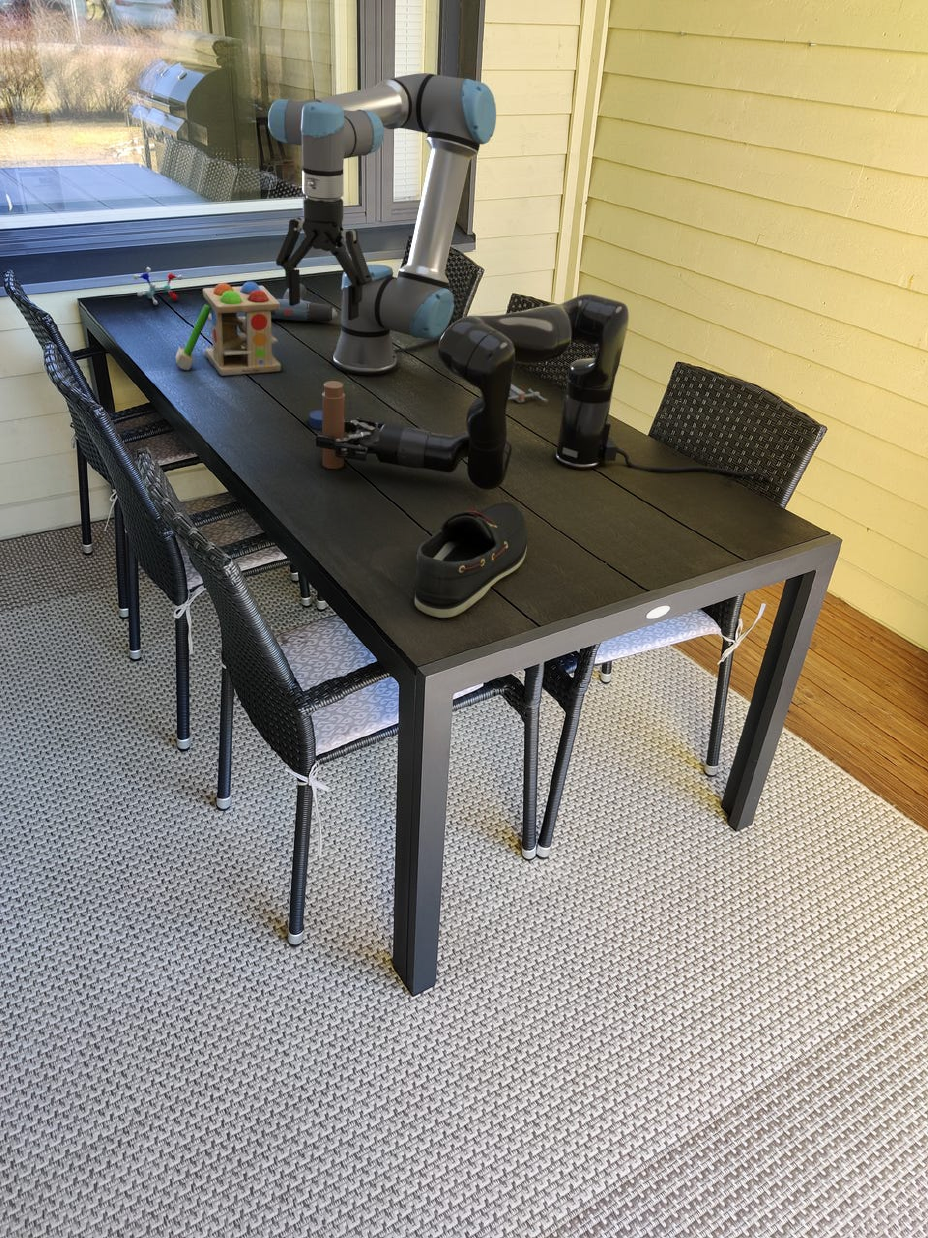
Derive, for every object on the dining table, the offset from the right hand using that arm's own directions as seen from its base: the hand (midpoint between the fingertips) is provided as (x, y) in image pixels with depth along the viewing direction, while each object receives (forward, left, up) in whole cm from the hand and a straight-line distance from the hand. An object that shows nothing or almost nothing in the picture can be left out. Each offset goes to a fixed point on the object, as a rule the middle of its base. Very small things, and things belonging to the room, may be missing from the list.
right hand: (324, 432), depth 188 cm
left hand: (-2, -19, +17) cm, 26 cm away
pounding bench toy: (+18, -53, -6) cm, 56 cm away
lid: (-1, -18, -5) cm, 19 cm away
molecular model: (+36, -102, -6) cm, 108 cm away
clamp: (-47, -33, -6) cm, 58 cm away
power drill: (-4, -93, -6) cm, 93 cm away
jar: (-2, +1, -6) cm, 7 cm away
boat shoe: (-20, +42, -6) cm, 47 cm away
